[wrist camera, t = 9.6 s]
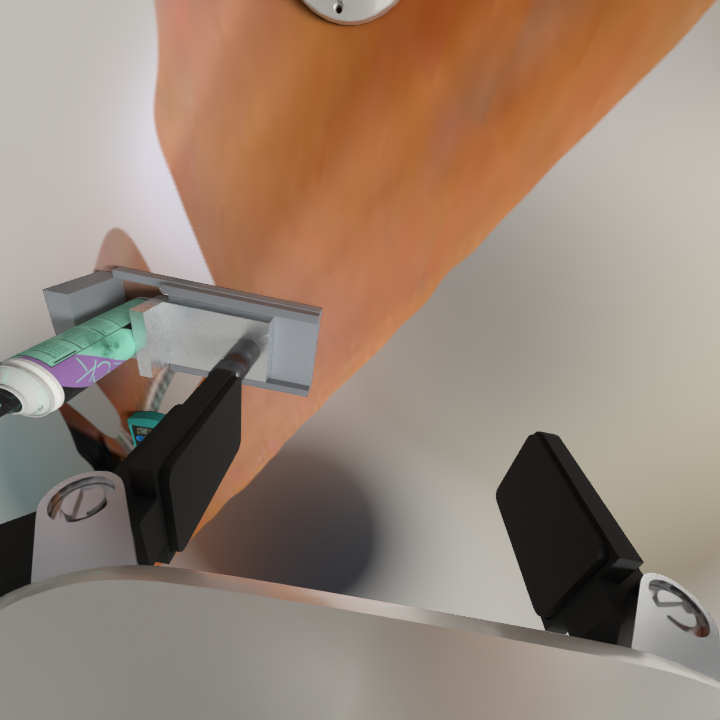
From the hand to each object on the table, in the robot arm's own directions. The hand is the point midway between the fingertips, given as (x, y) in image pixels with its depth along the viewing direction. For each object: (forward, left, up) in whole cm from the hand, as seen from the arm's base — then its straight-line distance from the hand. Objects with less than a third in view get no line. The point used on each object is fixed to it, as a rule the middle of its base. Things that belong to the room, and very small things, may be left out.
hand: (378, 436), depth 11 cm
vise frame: (+14, -20, -30) cm, 39 cm away
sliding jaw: (+14, -18, -29) cm, 37 cm away
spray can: (+14, -28, -31) cm, 44 cm away
